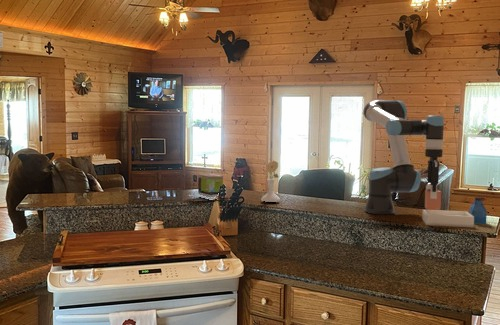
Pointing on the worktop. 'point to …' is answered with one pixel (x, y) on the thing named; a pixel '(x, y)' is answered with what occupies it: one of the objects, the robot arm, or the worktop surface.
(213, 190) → the tea box
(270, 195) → the flower in vase
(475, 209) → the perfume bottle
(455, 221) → the tray
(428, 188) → the mixing ball
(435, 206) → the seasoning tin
